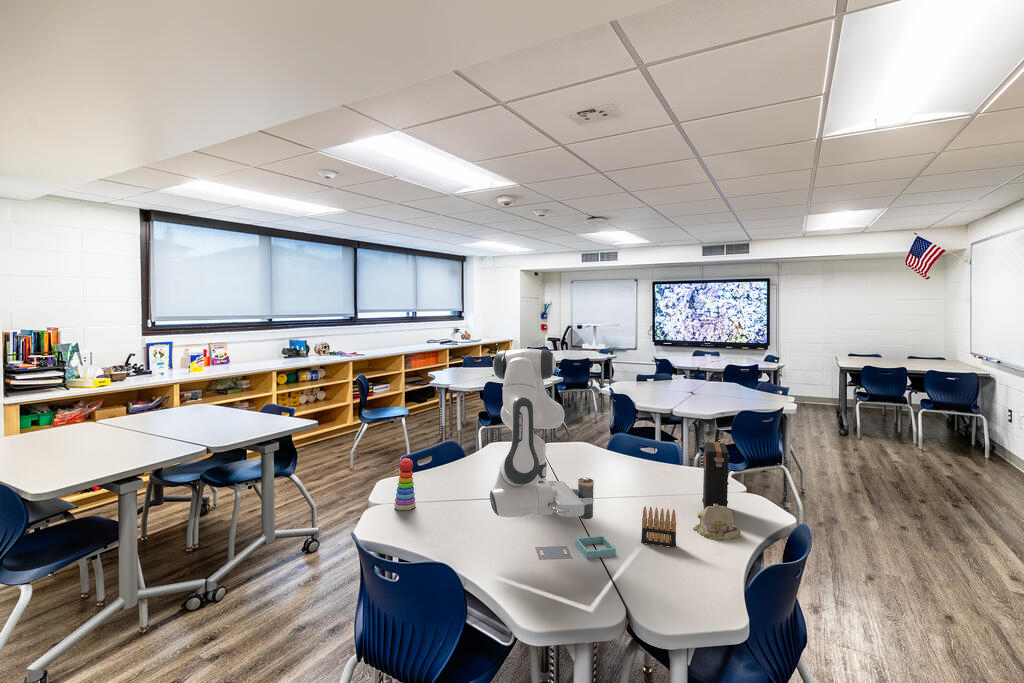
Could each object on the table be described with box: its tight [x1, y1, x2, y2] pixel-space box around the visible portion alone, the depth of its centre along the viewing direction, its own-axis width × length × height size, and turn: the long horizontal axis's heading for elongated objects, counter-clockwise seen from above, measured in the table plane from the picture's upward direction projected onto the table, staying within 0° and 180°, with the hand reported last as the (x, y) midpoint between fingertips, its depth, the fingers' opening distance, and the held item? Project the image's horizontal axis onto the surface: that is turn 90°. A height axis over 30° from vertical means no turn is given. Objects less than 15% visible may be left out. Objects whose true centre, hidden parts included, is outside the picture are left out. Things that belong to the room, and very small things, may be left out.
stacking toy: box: [393, 457, 417, 511], centre depth 185 cm, size 8×8×19 cm
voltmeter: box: [701, 441, 730, 510], centre depth 182 cm, size 16×9×25 cm, turn 161°
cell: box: [577, 476, 595, 520], centre depth 148 cm, size 5×5×12 cm
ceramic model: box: [692, 504, 742, 540], centre depth 164 cm, size 14×11×10 cm
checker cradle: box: [535, 545, 573, 561], centre depth 148 cm, size 10×8×1 cm
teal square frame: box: [574, 534, 617, 560], centre depth 149 cm, size 9×9×3 cm
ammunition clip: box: [640, 505, 677, 548], centre depth 155 cm, size 11×2×12 cm, turn 73°
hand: (588, 496), depth 148 cm, fingers closed on cell, 5 cm apart
